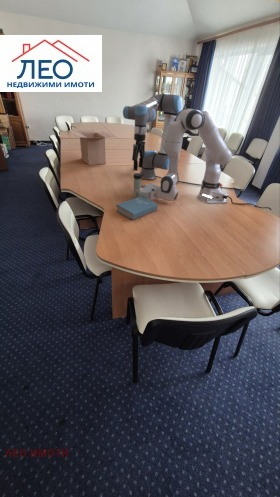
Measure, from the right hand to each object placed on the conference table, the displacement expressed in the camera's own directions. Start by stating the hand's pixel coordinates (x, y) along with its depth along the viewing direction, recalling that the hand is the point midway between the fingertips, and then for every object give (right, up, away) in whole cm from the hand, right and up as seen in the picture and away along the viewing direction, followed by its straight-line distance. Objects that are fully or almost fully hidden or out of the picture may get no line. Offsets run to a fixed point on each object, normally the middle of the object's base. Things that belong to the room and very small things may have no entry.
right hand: (138, 188), depth 166 cm
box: (-49, +48, +71) cm, 99 cm away
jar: (-1, -5, +4) cm, 7 cm away
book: (-1, -20, -16) cm, 26 cm away
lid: (0, +8, -5) cm, 10 cm away
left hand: (0, +12, -8) cm, 14 cm away
